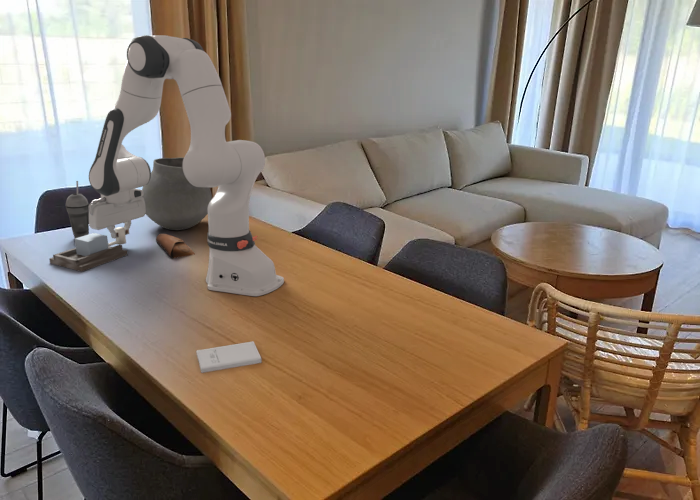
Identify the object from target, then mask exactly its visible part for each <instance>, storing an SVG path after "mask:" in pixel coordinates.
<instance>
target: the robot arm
mask: <svg viewBox="0 0 700 500" xmlns="http://www.w3.org/2000/svg"><path fill="white" fill-rule="evenodd" d="M166 80H174V81H175V82H176V85H177V86H178V90H179V93H180V97H181V100H182V103H183V106H184V109H185V111H186V116H187V119H188V123H189V126H190V142H189V143H190V144H189V147H188V150H187V152H186V153H185V155H184V157H183V158H184V159H183V172H184V175H185V177H186V179H187V180H188V181H189V182H190V183H191V184H192V185H193V186H196V187H209V188H217V189H216V192H215V194H214V196H212V199H211V201H210V202H209V204H208V214H207V220H208V221H207V223H208V232H207V237H206V239H207V245H208V247H209V249H208V250H209V257H208V266H207V267H208V269H207V273H206V277H205V282H206V285H207V290H210V291H214V292H221V293H229V294H236V295H243V296H250V297H259V296H263V295H267V294H270V293H272V292H274V291H276V290H277V289H279V288H280V287H282V286H283V285H284V282H285V279H284V276H281V275H278V274H277V272H276V267H275V263H274V261H273V260H272V259H271V258H270V257H269V256H268V255H266V254H265V253H264V252H263V251H262V250H261V249H260V248H258V246H257V245H256V242H255V241H257V240H258V235H255V236H253V234H252V232H251V230H250V213H249V212H250V210H249V209H250V202H251V201H250V200H251V195H252V192H253V189H254V185H255V183H256V180H257V178H258V176H259V175H260V173H262V171H264V170H263V169H265V168H264V167H265V164H266V155H265V152H264V150H263V148H262V147H261V145H260V144H258V142H255V141H252V140H245V139H243V140H242V139H237V140H230V141H227V139H226V125H228V124H229V122H230V121H231V118H232V112H231V108H230V104H229V102H228V98H227V96H226V94H225V90H224V87H223V84H222V81H221V78H220V76H219V74H218V71H217V69H216V67H215V65H214V63H213V61H212V59H211V57H210V56H209V54H208V53H207V52H205V50H204V48H203V46H201V44H200V43H199V42H197V41H195V40H194V39H191V38H188V37H182V38H181V37H177V36H170V35H162V34H161V35H160V34H159V35H157V34H156V35H149V34H147V35H145V34H144V35H139V36H135V37H134V38H132V39H131V40H130V41H129V42H128V44H127V49H126V63H125V66H124V69H123V74H122V79H121V85H120V86H121V87H120V91H119V92H120V93H119V95H118V98H117V101H116V103H115V104H114V106H113V107H112V109H110V110H109V111H108V113H107V114H106V117H105V120H104V123H103V127H102V131H101V135H100V139H99V142H98V147H97V150H96V154H95V158H94V160H93V162H92V164H91V166H90V169H89V170H88V171H89V172H88V181H89V184H90V186H91V188H92V189H94V190H95V191H96V192H97V193H99V194H100V198H98V199H93V200H91V202H90V203H89V209H88V221H89V228H91V229H92V230H97V231H100V230H103V229H107V230H108V232H109V233H110V237H111V239H115V240H116V238H118V237H119V236H118V232H115V228H116V226H117V225H120V224H124V226H123V227H124V228H125V236H127V235H130V228H131V226H132V221H134V220H136V219H140V218H143V217H145V216H146V207H145V201H144V198H143V197H142V196H143V190H142V189H140V188H141V187H142V188H143V186H145V185H147V184H148V183H149V181H150V178H151V172H152V170H151V167H150V164H149V162H148V161H147V160H146V159H145V158H143V157H141V156H137V155H135V154H134V153H131V152H129V150H127V149H126V147H125V145H124V144H123V141H124V139H125V137H127V135H128V134H129V133H130V132H133V130H135V129H137V128H138V127H140V126H143V125H145V124H147V123H149V122H151V121H152V120H154V118H156V116H157V115H158V113H159V112H160V109H161V104H162V98H163V90H164V84H165V81H166Z"/></svg>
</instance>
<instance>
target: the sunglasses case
mask: <svg viewBox="0 0 700 500" xmlns="http://www.w3.org/2000/svg"><path fill="white" fill-rule="evenodd" d="M155 242H156V243H157V244H158V245H159V246H160V247H161V248H162V249H163V250H164V251H165V252H166V253H167V254H168V256H169V257H170V258H172V259H177V257H178V258H183V257H187V256H188V257H189V256H194V255H196V254H195V251H193V250H192V249H193V248H191V247H190V246H189V245H187V244H186V242H185V241H184V240H183V239H182V238H179V237H176V236H173V235H171V234H167V233H159V234H158V235H157V236H156V238H155Z"/></svg>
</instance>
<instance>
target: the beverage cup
mask: <svg viewBox="0 0 700 500" xmlns="http://www.w3.org/2000/svg"><path fill="white" fill-rule="evenodd" d="M75 181H76V182H75V183H76V193H72V194H70V195H69V196H68V197H67V198H66V201H65V210H66V212H67V214H68V217H69V222H70V226H71V227H70V228H71V229H72V234H73V237H74V239H75V238H78V237H82V236H85V235H88V234H90V226H89V205H90V203H89V201H88V198H86V196H84V195H83V194H82V193H79V181H78V180H75Z"/></svg>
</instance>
